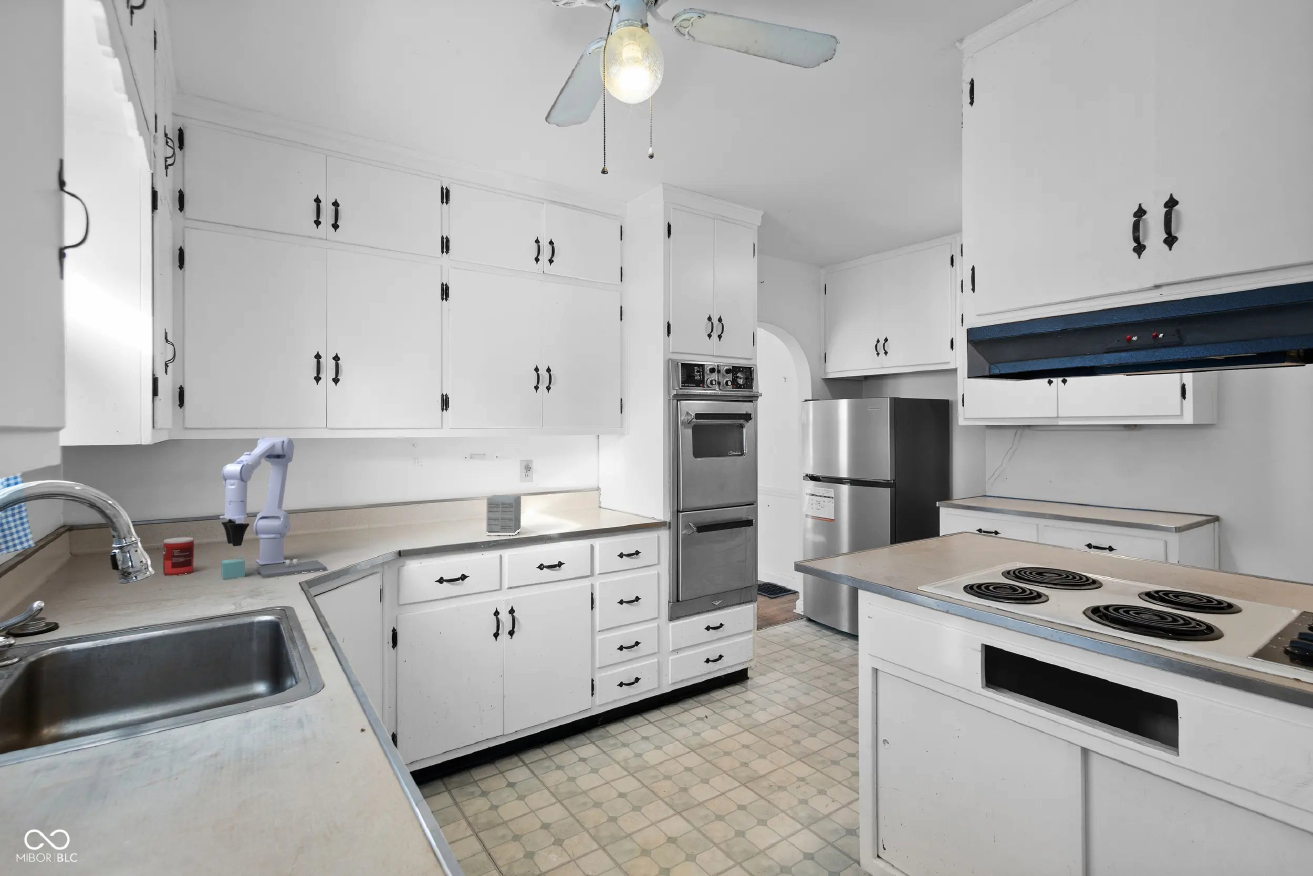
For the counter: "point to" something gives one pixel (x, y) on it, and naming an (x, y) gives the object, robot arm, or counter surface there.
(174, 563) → the canned food
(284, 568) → the stub plate
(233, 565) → the housing cap
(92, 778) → the counter surface
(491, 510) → the supplement box
